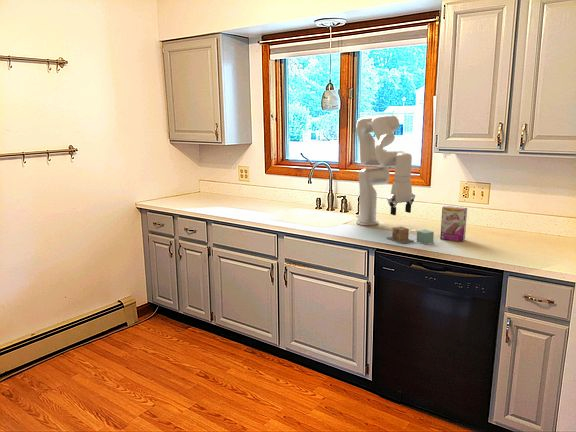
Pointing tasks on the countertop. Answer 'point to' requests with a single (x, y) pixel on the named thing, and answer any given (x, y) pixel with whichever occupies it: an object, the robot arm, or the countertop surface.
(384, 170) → the robot arm
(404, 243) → the mat
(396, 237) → the walnut block
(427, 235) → the teal block
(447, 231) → the candy bar box
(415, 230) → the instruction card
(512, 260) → the countertop surface
